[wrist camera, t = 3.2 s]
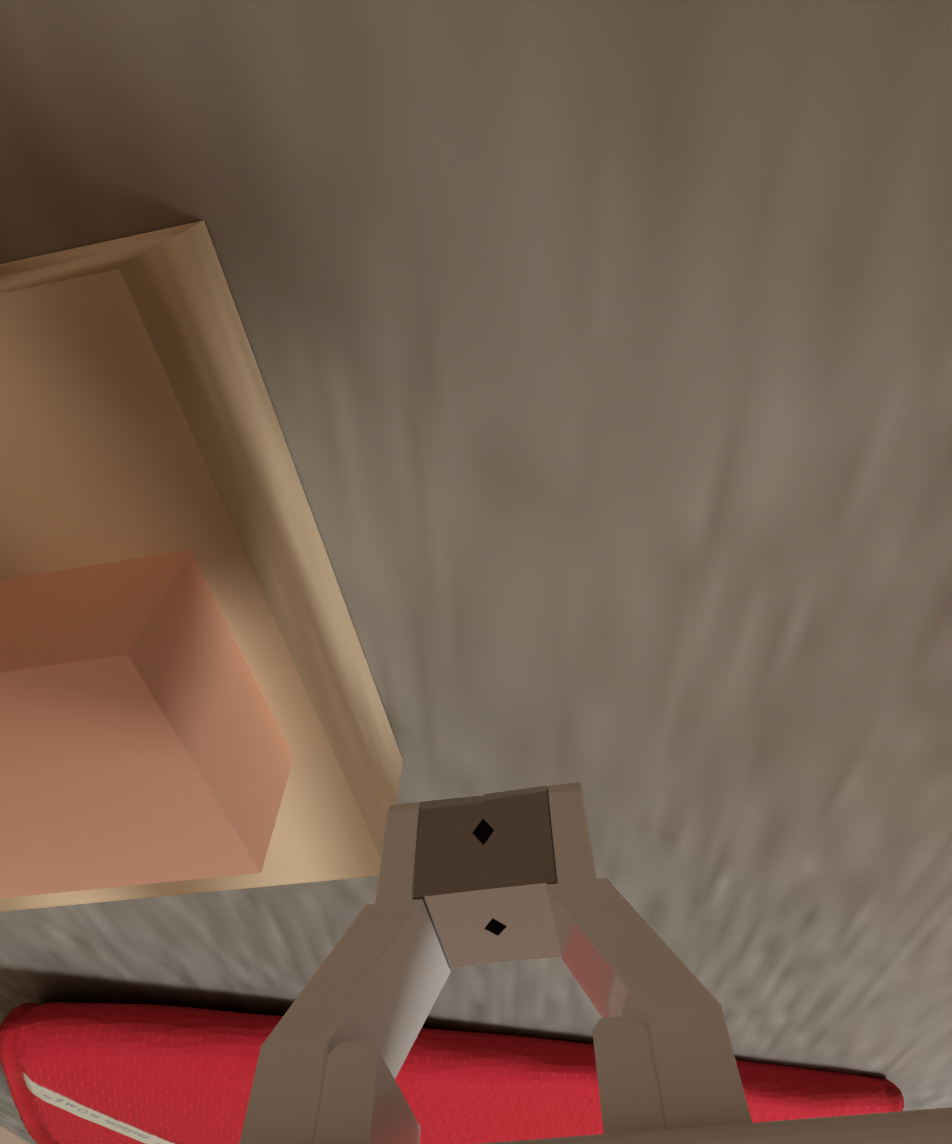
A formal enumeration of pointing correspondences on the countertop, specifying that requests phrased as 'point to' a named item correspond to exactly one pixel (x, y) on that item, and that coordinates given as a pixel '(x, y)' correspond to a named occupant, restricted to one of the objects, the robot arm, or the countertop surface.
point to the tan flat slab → (189, 516)
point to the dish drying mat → (426, 1079)
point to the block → (129, 732)
